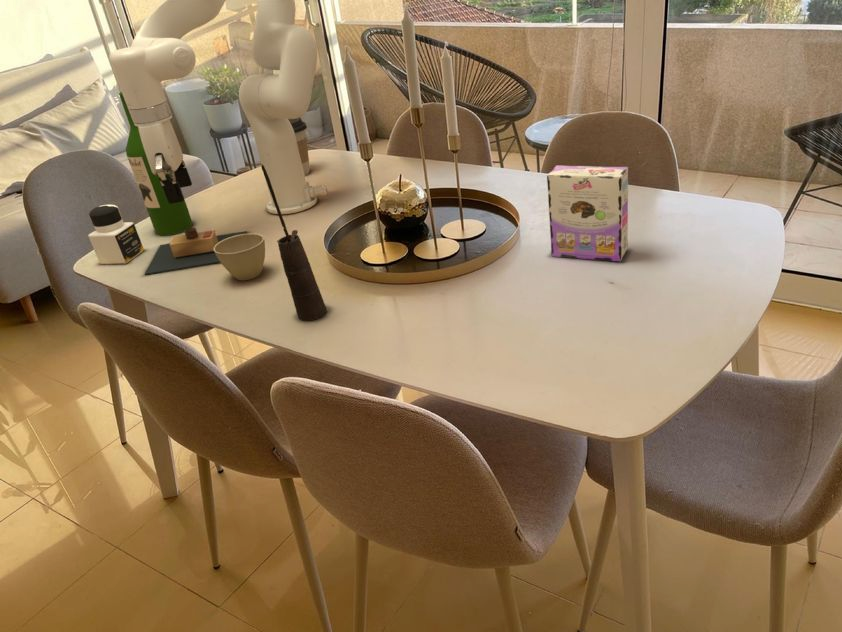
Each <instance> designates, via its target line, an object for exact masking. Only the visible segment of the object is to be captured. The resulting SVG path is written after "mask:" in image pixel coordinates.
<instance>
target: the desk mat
mask: <svg viewBox="0 0 842 632" xmlns="http://www.w3.org/2000/svg"><path fill="white" fill-rule="evenodd" d="M241 234H248V231H247V230H244V231H238V232H232V233H225V234H219V235H216V236H217V239H218V243H219V242H220V241H222V240H224V239H226V238H229V237H232V236H236V235H241ZM217 264H221V262H220V261H219V259H218V257H217V256H216V254H215V252H214V253H208V254H202V255H196V256H190V257H184V258H178V259H176V257H175V258H174V255H173V253H172V250H171V247H170V243H165V244H160V245H159V246H158V248H157V250H156V252H155V253H154V256H153V257H152V259H151V261H150V263H149V265H148V267H147V269H146V270H145V272H144V276H149V275H150V276H151V275H156V274H161V273H168V272H174V271H179V270H185V269H192V268H198V267H203V266H204V267H205V266H210V265H217Z"/></svg>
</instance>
